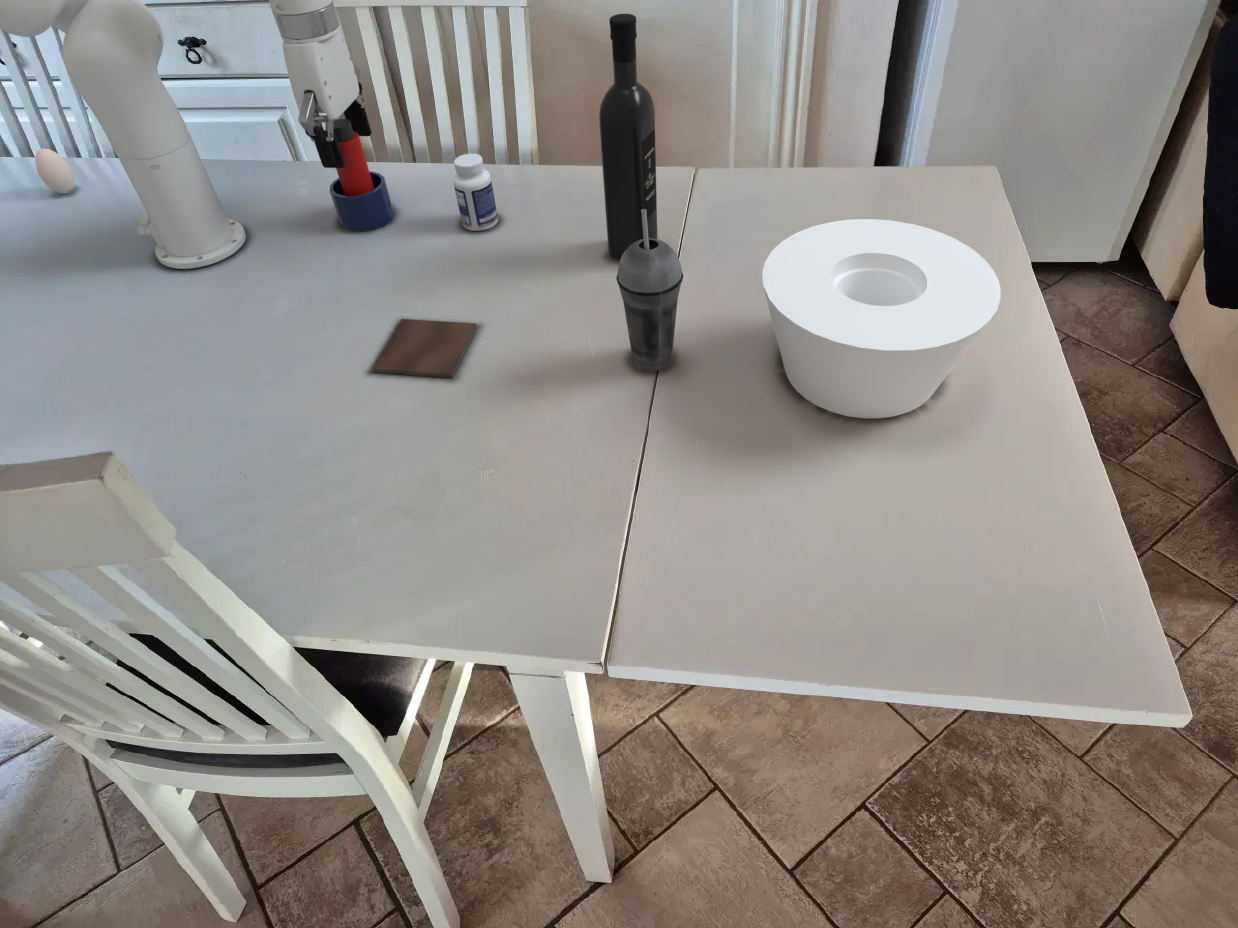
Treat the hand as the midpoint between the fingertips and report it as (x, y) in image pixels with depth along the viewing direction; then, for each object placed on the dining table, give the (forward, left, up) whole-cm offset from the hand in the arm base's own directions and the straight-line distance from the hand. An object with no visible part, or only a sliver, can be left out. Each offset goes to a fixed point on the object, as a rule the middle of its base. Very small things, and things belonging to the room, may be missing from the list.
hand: (348, 150), depth 116 cm
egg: (-55, +4, -11) cm, 56 cm away
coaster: (+20, -30, -11) cm, 38 cm away
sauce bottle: (0, 0, -10) cm, 10 cm away
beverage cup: (+48, -29, -11) cm, 57 cm away
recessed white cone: (+72, -28, -11) cm, 78 cm away
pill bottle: (+18, 0, -11) cm, 21 cm away
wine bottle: (+42, -6, -11) cm, 44 cm away
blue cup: (0, 0, -11) cm, 11 cm away
